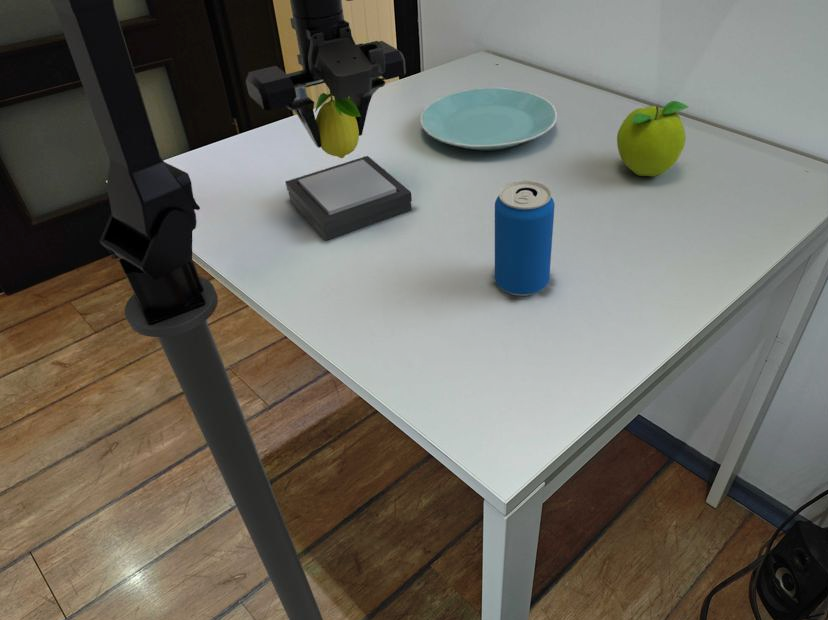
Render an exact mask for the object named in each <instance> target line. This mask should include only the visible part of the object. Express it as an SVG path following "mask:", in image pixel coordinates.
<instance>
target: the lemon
mask: <svg viewBox="0 0 828 620" xmlns="http://www.w3.org/2000/svg"><path fill="white" fill-rule="evenodd" d="M333 97H334V96H333V95H332V94H331V91H330V90H329V95H328V94H327V93H325V92H323V93H321V94H320V95H319V96H318V99H317V102H316V106H315V110H314V113H316V112H317V111H318V112H317V114H316V116H315V119H316V123H317V127H318V131H319V134H320V139H321V147H320V148H321V149H322V151H323V152H324V153H325V154H327V155H330V156H332V157H337V158H339V159H344V158H345V157H346V156H347V155H350V154H351V153H353V152H354V151H355V149H356V148H357V147H358V143H359V141H360V139H359V138H360V136H359V129H358V124H357V120H356V118H355V117H361V116H360V113H359V111H358V109H357V107H356V105H355V104H354V103H353V102H352V100H351V99H350V98H349V97H348V98H346V99H337V98H335V97H334V98H333ZM329 98H330V100H329V101H328V102H326V101H327V100H328V99H329Z"/></svg>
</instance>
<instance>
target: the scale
mask: <svg viewBox="0 0 828 620" xmlns="http://www.w3.org/2000/svg"><path fill="white" fill-rule="evenodd" d="M360 160H364V161H365V162H366V163H367V164H369V165H370V166H371V167H372V168H373V169H375V170H376V171H377V172H378V173H379V174H380V175H382V176H383V177H384V178H385V179H386V180H387V181H389V182H390V183H391V184H392V185H393V186H394V187H396V190H397V192H396V193H393V194H390V195H387V196H384V197H381V198H379V199H376V200H373V201H370V202H367V203H364V204H361V205H358V206H355V207H352V208H350V209H347V210H344V211H341V212H338V213H335V214H332V215H329V216H328V215H327V214H326V213H325V212H324V211H323V210H322V209H321V208H320V207H319V206H318V205H317V204H316V203H315V201H314V200H313V199H312V198H311V197H310V196H309V195H308V194H307V193H306V192H305V191H304V190H303V189H302V188H301V187H300V185H299V181H298V180H300V179H303V178H306V177H309V176H312V175H316V174H319V173H322V172H325V171H328V170H331V169H335V168H338V167H341V166H344V165H347V164H350V163H354V162H357V161H360ZM285 187H286V191H287V192H288V197H289V201H290V203H291V204H292V205H293V207H295V208H296V209H297V210H298V212H299V213H300V214H301V215H302V216H303V217H304V218H305V220H306V221H308V223H309V224H310V225H311V226H312V227H313V228H314V229H315V231H316V232H317V233H318V234H319V235H320V236H321V237H322V238H323V240H325V241H328V240H331V239H334V238H337V237H340V236H343V235H345V234H348V233H351V232H353V231H356V230H357V231H358V230H360V229H362V228H365V227H367V226H371V225H372V224H375V223H379V222H382V221H384V220H388V219H390V218H392V217H395V216H398V215H401V214H404V213H407V212H409V211H412V201H413V199H412V198H413V197H412V192H411V191H410V190H409V189H408V188H407V187H406V186H405V185H403V184H402V183H401V182H400V181H398V180H397V179H396V178H395V177H394V176H392V175H391V174H390V173H389V172H388V171H387V170H385V169H384V167H382V166H380V165H379V163H377V162H376V161H375V160H374V159H372V158H371V157H370V156H369V155H365V156H363V157H359V158H357V159H353V160H350V161H347V162H344V163H339V164H337V165H333V166H331V167H327V168H324V169H321V170H317V171H313V172H312V173H308V174H304V175H302V176H299V177H295V178H292V179H289V180H286V181H285Z"/></svg>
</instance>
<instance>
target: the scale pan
mask: <svg viewBox="0 0 828 620" xmlns="http://www.w3.org/2000/svg"><path fill="white" fill-rule="evenodd" d="M298 181H299V185H300V187H301V188H302V189H303V190H304V191H305V192H306V193H307V194H308V195H309V196H310V197H311V198H312V199H313V200H314V201H315V203H316V204H317V205H318V206H319V207H320V208H321V209H322V210H323V211H324V212H325V213H326V214H327V215H328V216H329V215H332V214H335V213H338V212H341V211H344V210H347V209H350V208H352V207H355V206H358V205H361V204H364V203H367V202H370V201H373V200H376V199H379V198H381V197H384V196H387V195H390V194H393V193H396V192H397V190H396V187H394V186H393V185H392V184H391V183H390V182H389V181H387V180H386V179H385V178H384V177H383V176H382V175H380V174H379V173H378V172H377V171H376V170H375V169H373V168H372V167H371V166H370V165H369V164H367V163H366V162H365V161H364V160H360V161H357V162H354V163H350V164H347V165H344V166H341V167H338V168H335V169H331V170H328V171H325V172H322V173H319V174H316V175H312V176H309V177H306V178H303V179H300V180H298Z"/></svg>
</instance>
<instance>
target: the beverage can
mask: <svg viewBox="0 0 828 620" xmlns="http://www.w3.org/2000/svg"><path fill="white" fill-rule="evenodd" d="M498 191H499V192H498V196H497V197H496V199H495V202H494V282H495V284H496V285H497V286H498V288H499V289H500V290H503V291H504V292H506V293H508V294H510V295H513V296H517V297H527V296H531V295H535V294H537V293H539V292H541V291H543V290H544V289H545V288H546V287H547V286H548V284H549V282H550V276H551V273H550V272H551V263H552V262H551V259H552V246H553V235H554V234H553V233H554V221H555V220H554V219H555V205H556V204H555V201H554V199H553V197H552V192H551V189H550V187H548V186H546V185H545V184H543V183H540V182H539V181H533V180H516V181H512V182H509V183H506V184H504V185H503V186H501V188H500V190H498Z"/></svg>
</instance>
